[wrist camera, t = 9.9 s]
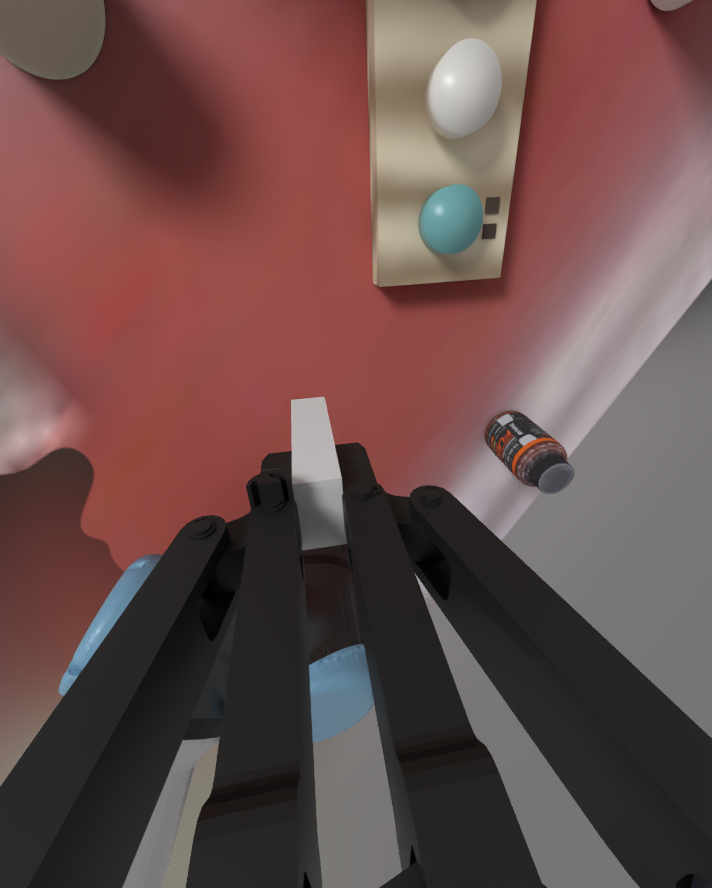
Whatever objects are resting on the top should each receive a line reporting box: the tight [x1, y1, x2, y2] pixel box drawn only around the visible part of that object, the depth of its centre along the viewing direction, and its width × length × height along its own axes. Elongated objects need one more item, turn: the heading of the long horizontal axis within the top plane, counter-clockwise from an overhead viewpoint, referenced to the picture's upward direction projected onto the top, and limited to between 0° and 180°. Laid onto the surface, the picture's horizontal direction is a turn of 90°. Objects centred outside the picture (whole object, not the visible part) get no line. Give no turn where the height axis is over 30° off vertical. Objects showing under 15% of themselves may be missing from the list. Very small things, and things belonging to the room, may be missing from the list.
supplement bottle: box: [485, 411, 574, 494], centre depth 44 cm, size 6×6×11 cm
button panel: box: [366, 0, 537, 287], centre depth 30 cm, size 26×12×3 cm, turn 3°
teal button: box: [418, 184, 483, 254], centre depth 32 cm, size 5×5×2 cm
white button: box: [425, 38, 502, 139], centre depth 27 cm, size 5×5×2 cm
